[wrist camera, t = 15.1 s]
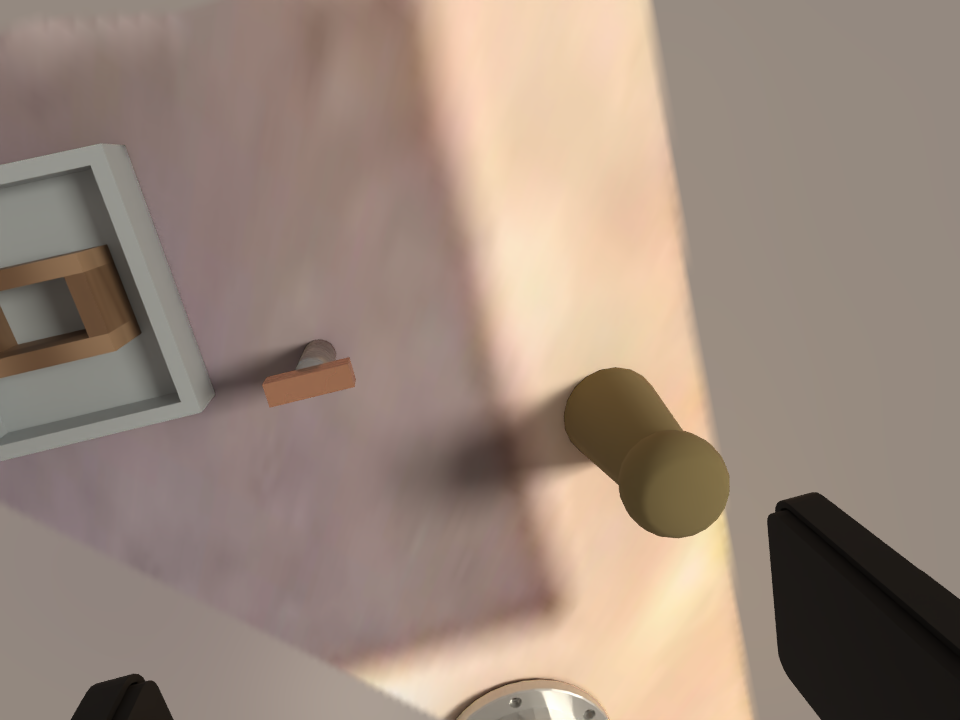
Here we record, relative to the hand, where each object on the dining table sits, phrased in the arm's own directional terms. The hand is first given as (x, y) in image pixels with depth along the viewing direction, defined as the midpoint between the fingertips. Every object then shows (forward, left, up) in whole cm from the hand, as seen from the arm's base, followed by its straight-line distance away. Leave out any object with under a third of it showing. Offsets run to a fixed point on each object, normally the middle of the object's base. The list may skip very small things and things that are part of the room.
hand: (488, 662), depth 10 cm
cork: (-10, -10, -28) cm, 32 cm away
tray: (+4, +18, -28) cm, 34 cm away
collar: (+4, +18, -28) cm, 33 cm away
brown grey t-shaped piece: (-2, +6, -28) cm, 29 cm away
